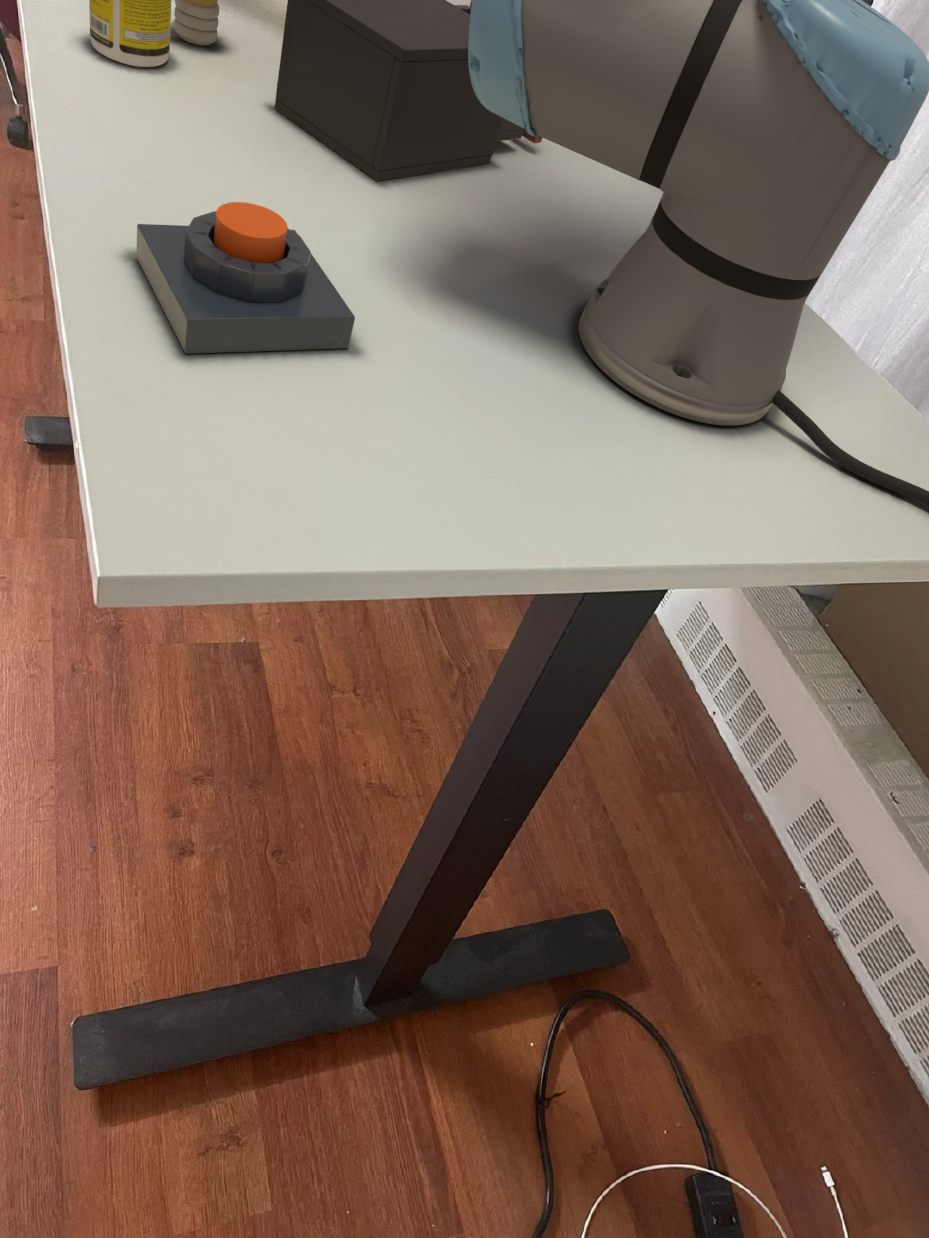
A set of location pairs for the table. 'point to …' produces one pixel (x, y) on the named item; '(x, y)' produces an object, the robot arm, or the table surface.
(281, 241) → the button
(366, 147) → the cabinet
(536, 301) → the table surface
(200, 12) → the light bulb
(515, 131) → the drawer
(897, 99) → the robot arm
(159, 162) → the table surface
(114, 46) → the pill bottle
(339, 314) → the control box
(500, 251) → the table surface
